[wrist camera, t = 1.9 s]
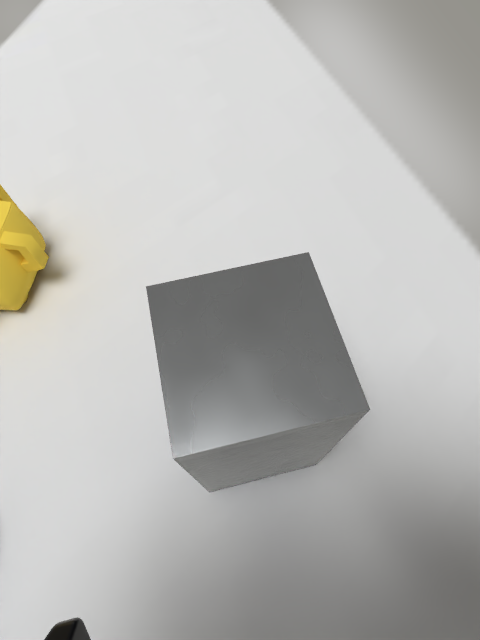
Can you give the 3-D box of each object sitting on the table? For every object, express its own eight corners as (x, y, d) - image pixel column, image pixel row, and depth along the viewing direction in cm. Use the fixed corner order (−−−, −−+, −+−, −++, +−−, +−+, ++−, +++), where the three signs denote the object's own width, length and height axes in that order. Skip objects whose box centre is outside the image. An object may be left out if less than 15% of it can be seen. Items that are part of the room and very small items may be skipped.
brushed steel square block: (315, 464, 20) (370, 409, 11) (209, 492, 19) (173, 458, 10) (285, 365, 22) (308, 252, 13) (189, 387, 21) (146, 286, 13)
